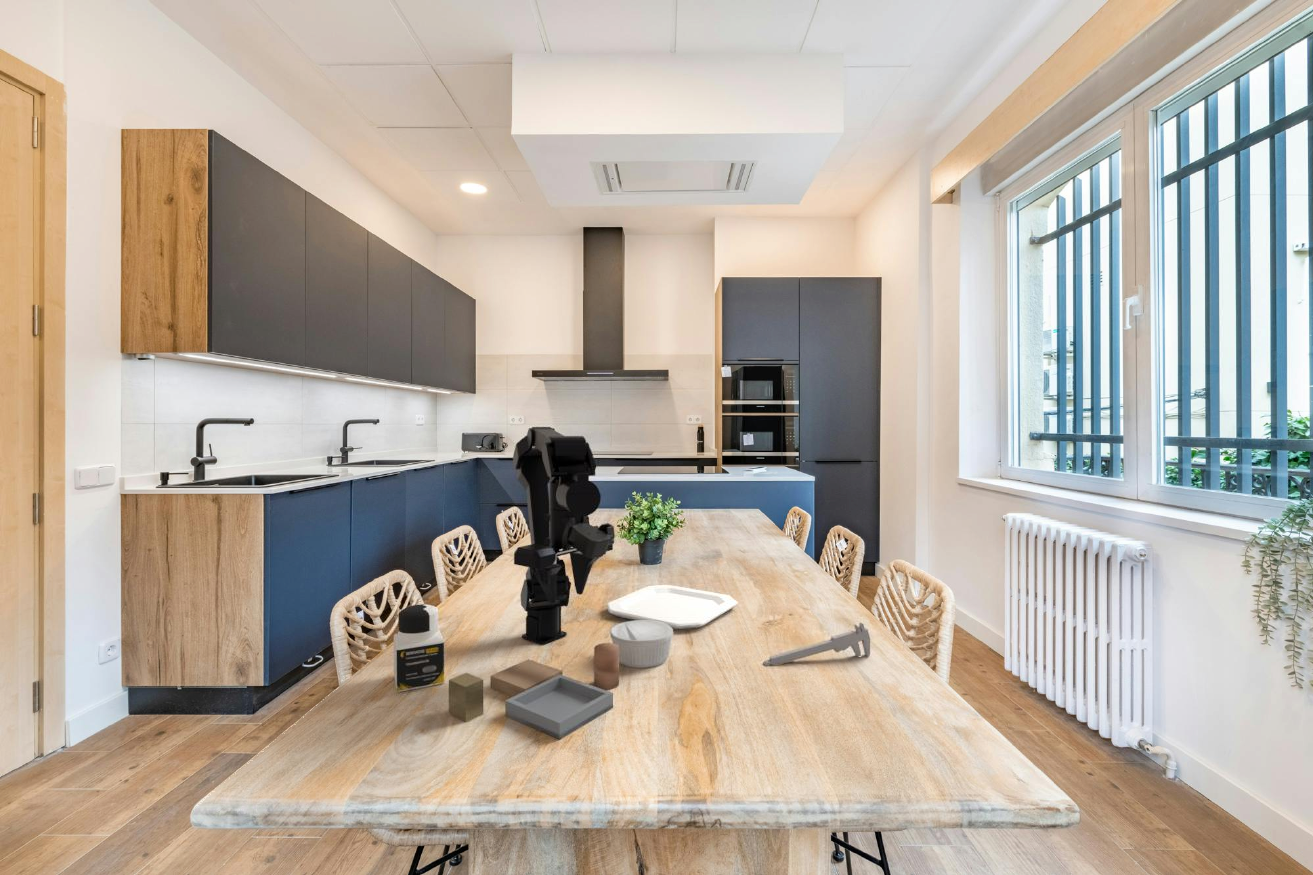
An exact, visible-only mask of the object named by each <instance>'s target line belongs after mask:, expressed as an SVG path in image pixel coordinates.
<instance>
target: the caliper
mask: <svg viewBox="0 0 1313 875" xmlns="http://www.w3.org/2000/svg"><path fill="white" fill-rule="evenodd" d="M853 627H854V629H855V630H849V631H846V632H843V633H839V634H837V635H833V636H830V637H831V638H830V639H827V640H823V641H820V642H817V643H813V644H809V645H806V646H802V647H799V648H794V649H790V650H788V651H784V652H781V653H778V654H774V655H770V656H769V659H766V660H764V661H763V662H762V663H763V664H764V665H765V666H770V665H772V666H778V665H779V664H780V665H783V664H786V663H791V662H793V661H796V660H800V659H803V658H804V659H805V658H807V657H811V656H814V655H817V654H821V653H824V652H825V653H826V652H828V651H832V650H833V651H834V652H835V653H839V652H841V651H846V650H847V649H849V648H851V649H852V652H853V653H854V655H855V656H856V655H857V656H856V657H858V656H861V657H862V651H861V648H860V644H859V642H861V644H862V648H863V653H864V655H865V654H866V655H867V656H866V655H865V656H866V657H870V655H871V637H870V633H869V629H868V628H866V627H865V625H864V623H862V622H859V625H857V624H854V625H853Z"/></svg>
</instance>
